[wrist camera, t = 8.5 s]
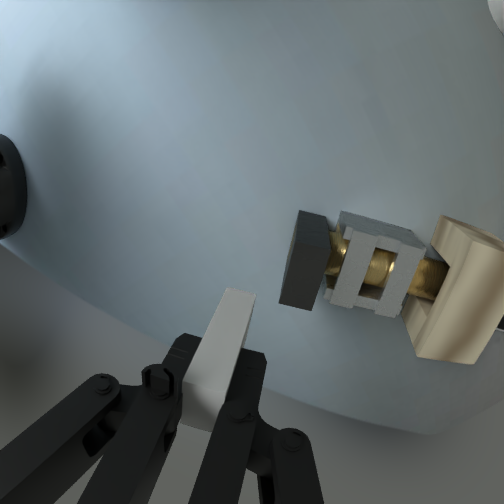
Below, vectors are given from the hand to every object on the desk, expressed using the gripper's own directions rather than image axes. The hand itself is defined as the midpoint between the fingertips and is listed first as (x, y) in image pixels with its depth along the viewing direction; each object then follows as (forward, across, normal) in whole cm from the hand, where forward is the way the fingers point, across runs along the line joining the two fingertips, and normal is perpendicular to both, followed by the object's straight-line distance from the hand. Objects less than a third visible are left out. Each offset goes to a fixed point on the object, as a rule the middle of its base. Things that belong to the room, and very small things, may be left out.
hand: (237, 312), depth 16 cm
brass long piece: (+14, +11, 0) cm, 18 cm away
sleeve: (+14, +9, 0) cm, 17 cm away
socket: (+14, +19, 0) cm, 23 cm away
